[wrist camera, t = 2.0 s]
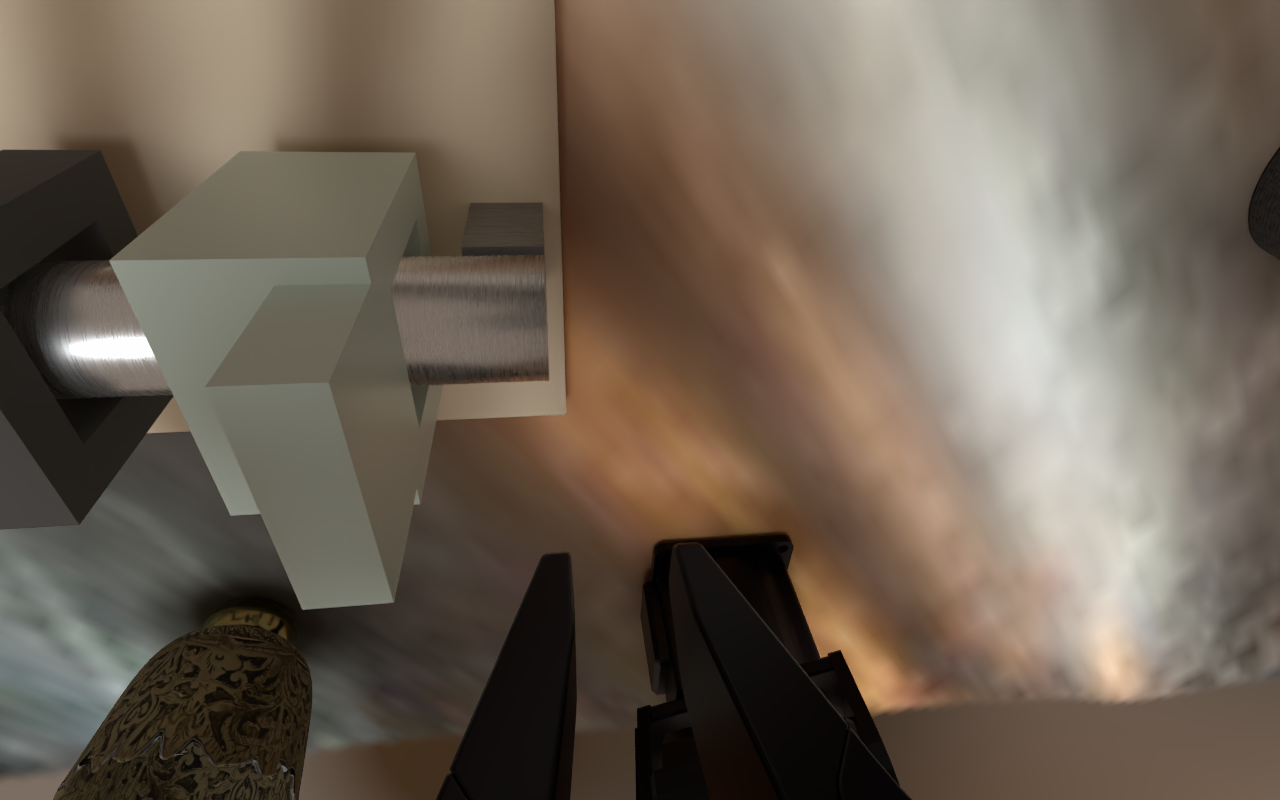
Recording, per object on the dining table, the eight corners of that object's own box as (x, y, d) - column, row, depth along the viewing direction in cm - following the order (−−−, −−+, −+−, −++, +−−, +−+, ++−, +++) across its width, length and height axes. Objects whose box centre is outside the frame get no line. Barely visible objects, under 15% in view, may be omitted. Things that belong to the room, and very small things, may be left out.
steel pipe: (541, 186, 18) (544, 288, 13) (546, 292, 20) (550, 414, 15) (-398, 186, 15) (-827, 314, 11) (-285, 308, 17) (-603, 465, 13)
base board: (552, -21, 16) (553, -17, 15) (565, 397, 24) (566, 416, 23) (-588, -69, 13) (-668, -67, 12) (-152, 427, 21) (-182, 449, 20)
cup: (121, 582, 27) (-7, 791, 20) (299, 547, 27) (226, 745, 21) (219, 676, 31) (139, 871, 25) (370, 646, 31) (329, 833, 25)
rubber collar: (100, 150, 15) (-101, 263, 10) (195, 367, 19) (79, 524, 14) (2, 149, 15) (-249, 264, 10) (118, 369, 18) (-27, 531, 14)
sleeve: (415, 152, 16) (319, 352, 9) (447, 358, 19) (398, 619, 12) (239, 151, 15) (-14, 362, 8) (306, 363, 19) (170, 637, 12)
